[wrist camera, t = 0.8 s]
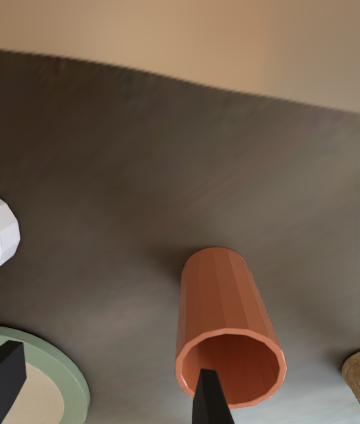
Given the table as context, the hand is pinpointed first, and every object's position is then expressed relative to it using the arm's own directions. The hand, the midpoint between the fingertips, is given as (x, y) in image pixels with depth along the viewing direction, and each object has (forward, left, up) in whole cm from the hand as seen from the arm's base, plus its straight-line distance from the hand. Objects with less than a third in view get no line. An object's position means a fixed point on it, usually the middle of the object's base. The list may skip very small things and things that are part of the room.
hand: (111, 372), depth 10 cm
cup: (-4, -4, -10) cm, 11 cm away
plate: (-10, +19, -10) cm, 23 cm away
